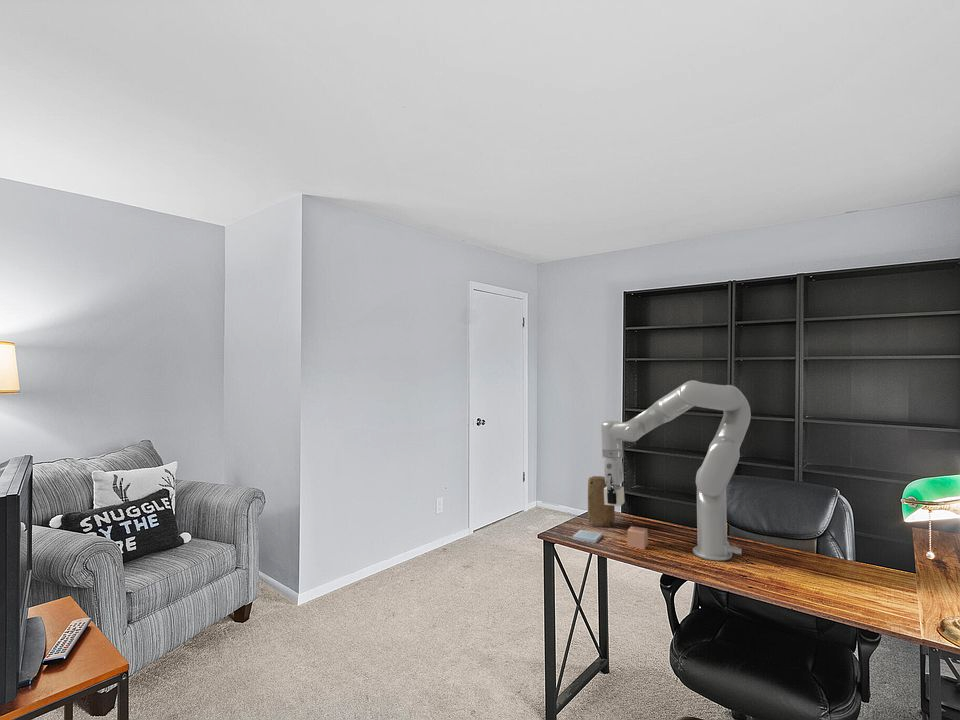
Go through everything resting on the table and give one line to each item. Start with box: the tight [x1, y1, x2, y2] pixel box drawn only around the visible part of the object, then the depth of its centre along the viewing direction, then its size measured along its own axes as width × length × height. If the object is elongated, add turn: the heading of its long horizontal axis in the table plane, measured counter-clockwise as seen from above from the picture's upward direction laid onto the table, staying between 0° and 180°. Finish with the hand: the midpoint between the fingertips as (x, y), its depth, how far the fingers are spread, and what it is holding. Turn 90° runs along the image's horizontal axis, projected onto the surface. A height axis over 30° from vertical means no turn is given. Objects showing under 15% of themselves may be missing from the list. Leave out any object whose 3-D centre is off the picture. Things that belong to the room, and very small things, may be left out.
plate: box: [572, 529, 603, 544], centre depth 200 cm, size 9×9×1 cm
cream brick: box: [604, 485, 625, 507], centre depth 195 cm, size 6×6×6 cm
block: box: [587, 475, 616, 528], centre depth 217 cm, size 11×8×20 cm
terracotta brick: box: [626, 526, 649, 550], centre depth 191 cm, size 6×6×6 cm
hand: (614, 501), depth 195 cm, fingers closed on cream brick, 6 cm apart
